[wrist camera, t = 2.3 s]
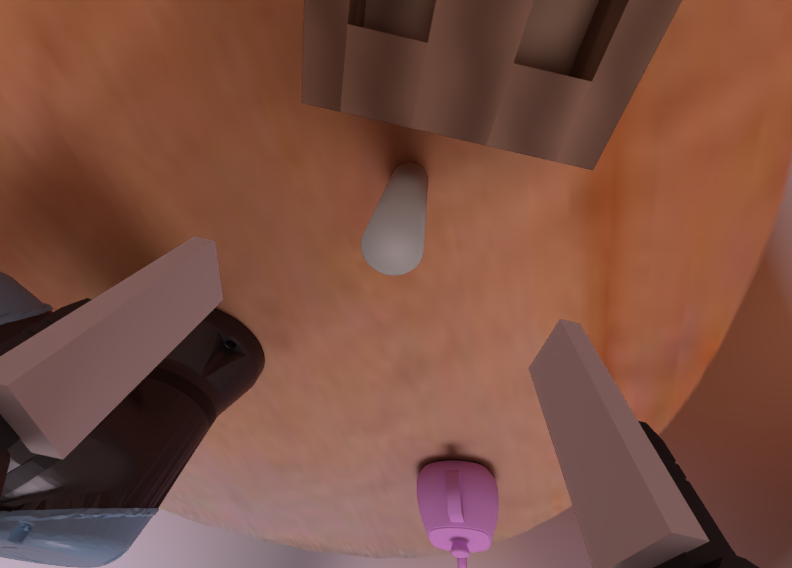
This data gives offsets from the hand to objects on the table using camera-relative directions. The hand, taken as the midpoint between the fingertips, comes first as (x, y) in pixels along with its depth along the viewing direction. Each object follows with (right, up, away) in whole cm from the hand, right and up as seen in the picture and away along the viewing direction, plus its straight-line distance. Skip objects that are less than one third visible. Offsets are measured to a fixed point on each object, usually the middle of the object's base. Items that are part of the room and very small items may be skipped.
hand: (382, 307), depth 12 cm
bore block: (+6, +20, +10) cm, 23 cm away
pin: (+2, +10, +16) cm, 20 cm away
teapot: (+11, -33, +43) cm, 55 cm away
